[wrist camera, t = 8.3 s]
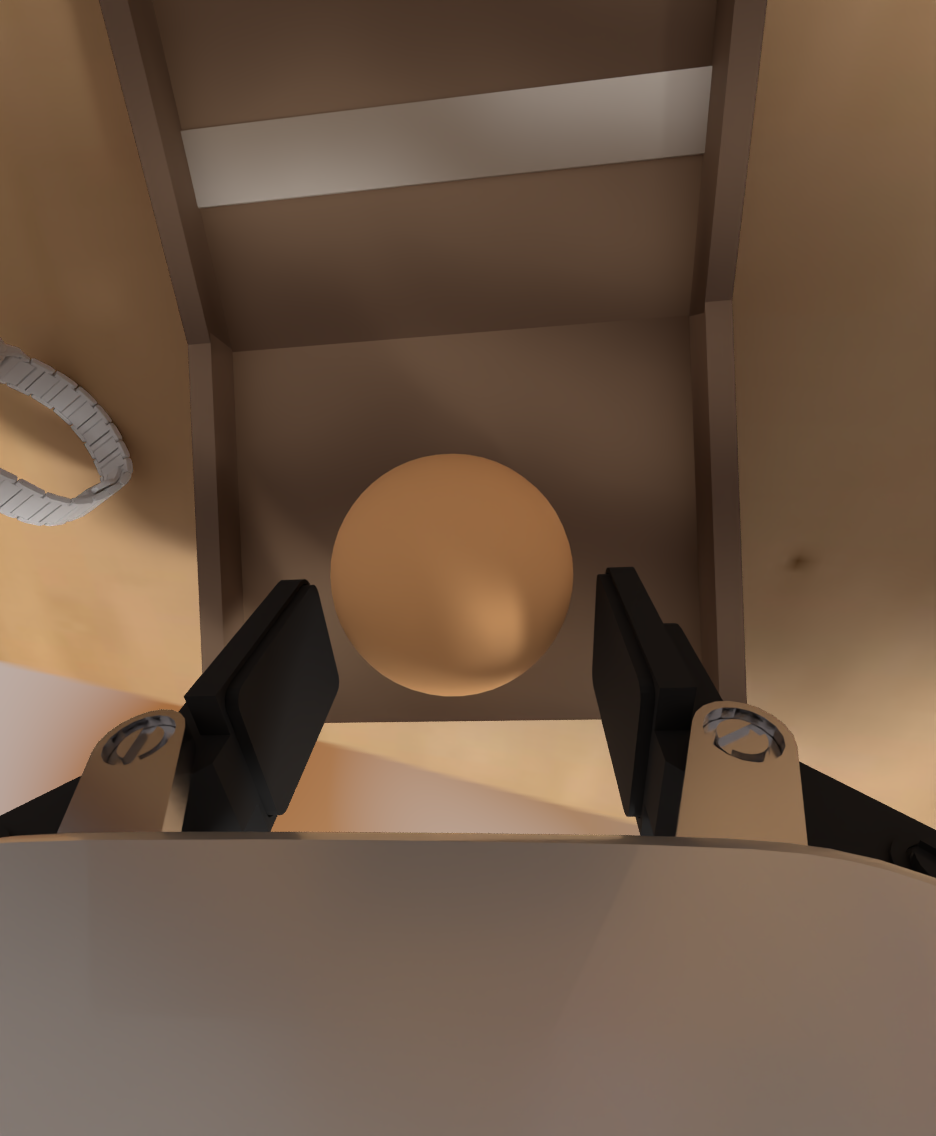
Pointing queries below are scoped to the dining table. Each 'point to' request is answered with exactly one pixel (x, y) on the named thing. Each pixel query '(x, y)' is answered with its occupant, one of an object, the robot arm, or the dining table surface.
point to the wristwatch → (88, 423)
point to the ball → (451, 575)
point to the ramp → (456, 290)
